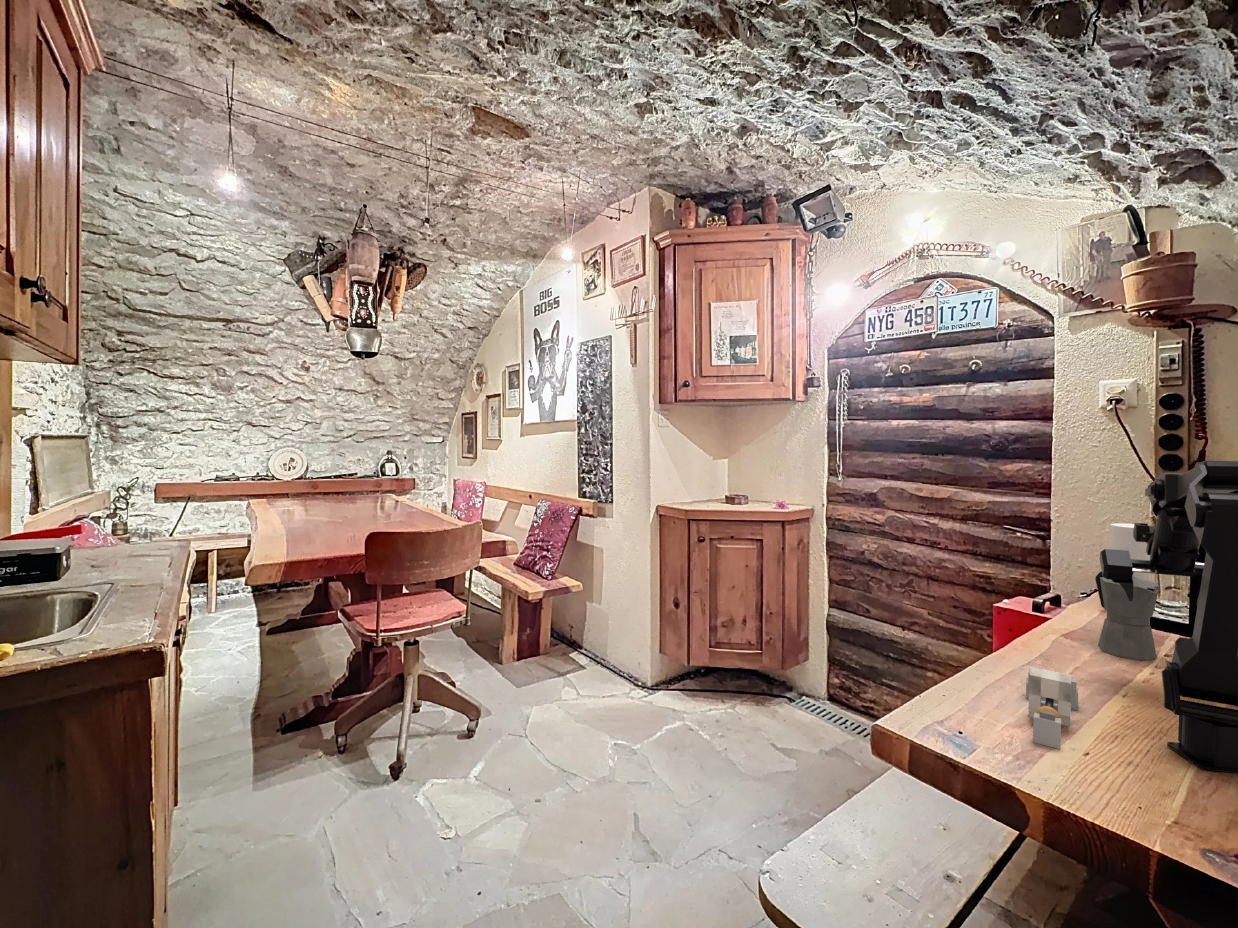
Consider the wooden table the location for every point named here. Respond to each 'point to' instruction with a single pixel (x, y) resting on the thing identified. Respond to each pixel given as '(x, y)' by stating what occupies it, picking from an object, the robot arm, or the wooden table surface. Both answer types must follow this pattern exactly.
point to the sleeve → (1050, 692)
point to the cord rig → (1050, 718)
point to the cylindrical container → (1129, 545)
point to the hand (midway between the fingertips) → (1163, 603)
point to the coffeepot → (1127, 618)
